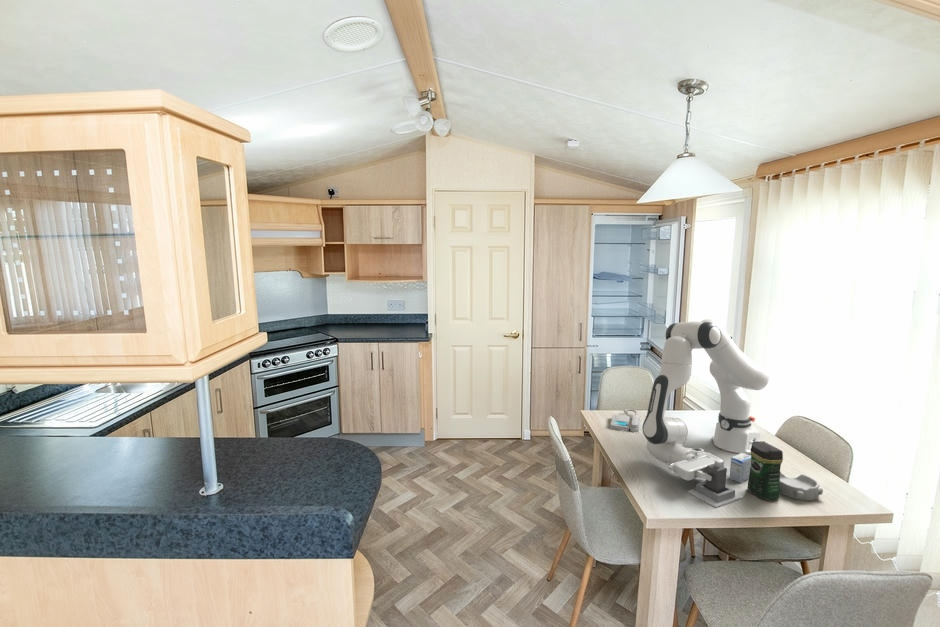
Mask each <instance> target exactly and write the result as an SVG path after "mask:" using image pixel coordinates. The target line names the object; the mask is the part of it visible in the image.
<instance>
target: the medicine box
mask: <svg viewBox="0 0 940 627" xmlns="http://www.w3.org/2000/svg"><path fill="white" fill-rule="evenodd" d="M750 467H751V454H746V453H738V454H736V455H734V456H732V457H730V467H729V477H728V478H729V479H730V480H732V479H733V480H732V481H734V480H735V482H737V483H739V482H740V483H739V484H742V483H743V482H745V481H748V480H749V474H750Z"/></svg>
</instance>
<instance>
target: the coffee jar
mask: <svg viewBox="0 0 940 627" xmlns="http://www.w3.org/2000/svg"><path fill="white" fill-rule="evenodd" d="M783 453H784V452H783V451H782V450H781V449H779V448H778V447H776V446H773V444H770V443H768V442H766V441H763V440H760V441H757V442H754V443H753V444H752V446H751V454H750V456H751V467H750V474H749V479H747V490H748V491H749V492H750V493H751V494H753V495H754V496H756V497H757V498H758V499H760V500H766V501H770V500H771V501H776V500H779V498H780V494H781V493H780V472H781V467H782V463H783V460H784V454H783Z"/></svg>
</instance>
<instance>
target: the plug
mask: <svg viewBox="0 0 940 627" xmlns="http://www.w3.org/2000/svg"><path fill="white" fill-rule="evenodd" d="M727 471H728V468H727V467H723V466H721V465H720V461H714V464H711V465H708V466H707V473H706V474H711V475H713V480H711V481H708V480H706V479H705V481H706V486H705V487H706V488H708V489H710V490H712V491H713V492H715V493H717V494H718V493H721V492H724V491H725V486H727V485H726V484H727V473H728V472H727Z"/></svg>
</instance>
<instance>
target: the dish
mask: <svg viewBox="0 0 940 627" xmlns="http://www.w3.org/2000/svg"><path fill="white" fill-rule="evenodd" d="M823 493H824V490H823V487H820V483H819V482H818V481H817V480H816V479H814V478H812V477H811V476H809V475H806V474H800V475H798V476H797V477H793V478H792V477H787V476H785V475H784V474H783V473H782V472H781V471H780V494H781V495H783V496H786V497H789V498H792V499H795V500H800V501H814V500H817V499H819V497H820V496H822V495H823Z"/></svg>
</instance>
